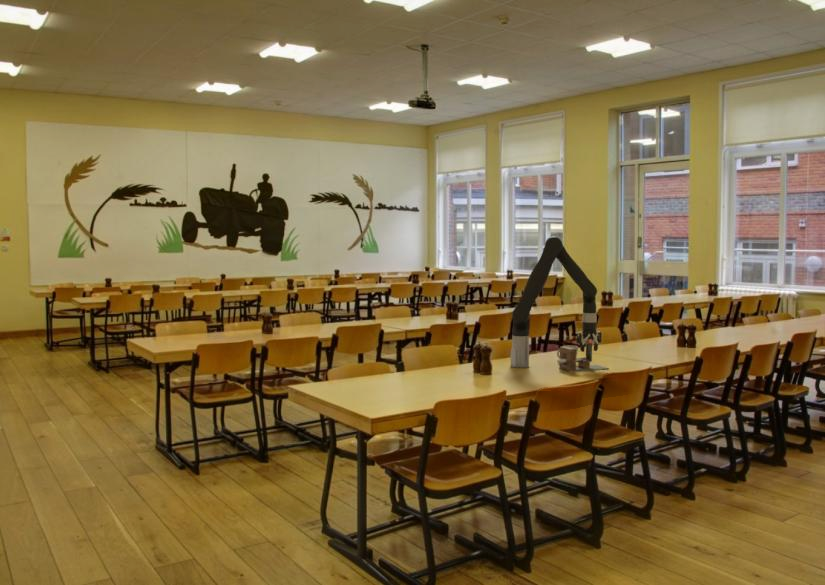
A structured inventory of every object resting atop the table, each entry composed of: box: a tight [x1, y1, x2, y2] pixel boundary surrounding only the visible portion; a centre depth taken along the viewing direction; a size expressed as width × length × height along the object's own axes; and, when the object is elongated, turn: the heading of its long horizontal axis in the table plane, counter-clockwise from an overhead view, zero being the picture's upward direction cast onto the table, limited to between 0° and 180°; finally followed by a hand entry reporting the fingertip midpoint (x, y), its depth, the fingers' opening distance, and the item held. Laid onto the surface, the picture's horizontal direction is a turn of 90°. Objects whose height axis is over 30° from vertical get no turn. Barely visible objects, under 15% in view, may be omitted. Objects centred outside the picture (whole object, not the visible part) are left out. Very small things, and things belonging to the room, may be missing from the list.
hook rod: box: [557, 339, 594, 365], centre depth 389 cm, size 21×4×13 cm, turn 108°
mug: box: [556, 344, 579, 359], centre depth 408 cm, size 8×13×10 cm, turn 53°
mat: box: [558, 364, 610, 373], centre depth 391 cm, size 24×11×1 cm, turn 109°
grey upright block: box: [559, 345, 577, 373], centre depth 388 cm, size 4×10×12 cm, turn 19°
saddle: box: [577, 360, 591, 369], centre depth 391 cm, size 4×5×5 cm
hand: (589, 351), depth 391 cm, fingers open, 7 cm apart
